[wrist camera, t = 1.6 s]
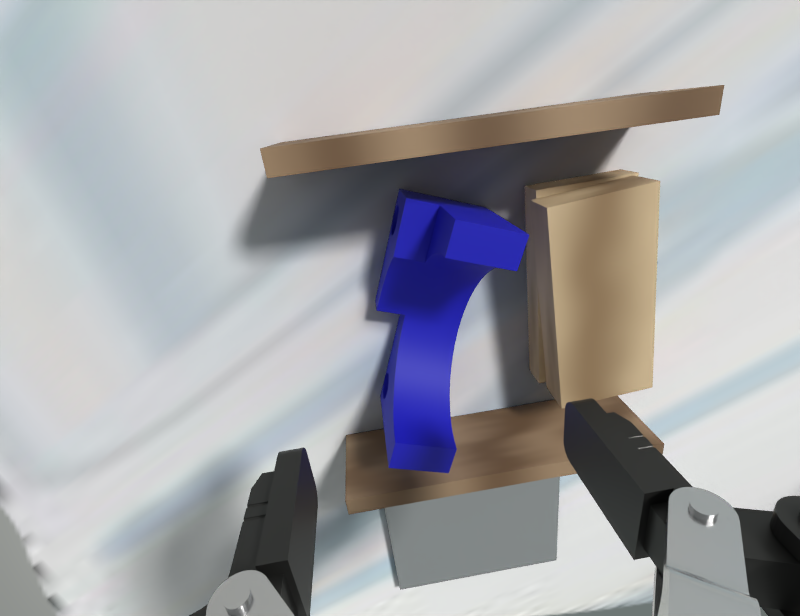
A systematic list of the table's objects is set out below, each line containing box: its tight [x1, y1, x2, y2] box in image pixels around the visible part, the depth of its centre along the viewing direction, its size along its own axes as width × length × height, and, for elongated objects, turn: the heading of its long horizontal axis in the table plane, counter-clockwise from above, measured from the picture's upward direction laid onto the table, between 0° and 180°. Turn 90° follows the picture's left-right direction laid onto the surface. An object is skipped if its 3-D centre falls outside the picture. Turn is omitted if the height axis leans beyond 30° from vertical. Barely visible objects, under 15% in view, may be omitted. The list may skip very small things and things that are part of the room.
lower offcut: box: [525, 169, 638, 384], centre depth 23 cm, size 5×11×2 cm, turn 9°
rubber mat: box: [384, 477, 560, 590], centre depth 30 cm, size 12×11×1 cm
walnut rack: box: [260, 85, 724, 514], centre depth 21 cm, size 17×18×5 cm
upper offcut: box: [530, 175, 660, 409], centre depth 22 cm, size 5×11×2 cm, turn 12°
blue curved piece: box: [375, 189, 529, 473], centre depth 21 cm, size 12×4×6 cm, turn 168°
